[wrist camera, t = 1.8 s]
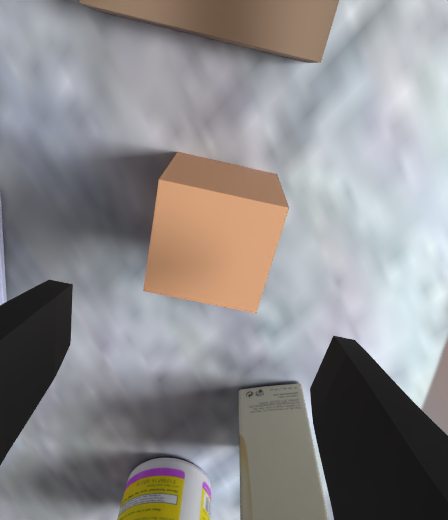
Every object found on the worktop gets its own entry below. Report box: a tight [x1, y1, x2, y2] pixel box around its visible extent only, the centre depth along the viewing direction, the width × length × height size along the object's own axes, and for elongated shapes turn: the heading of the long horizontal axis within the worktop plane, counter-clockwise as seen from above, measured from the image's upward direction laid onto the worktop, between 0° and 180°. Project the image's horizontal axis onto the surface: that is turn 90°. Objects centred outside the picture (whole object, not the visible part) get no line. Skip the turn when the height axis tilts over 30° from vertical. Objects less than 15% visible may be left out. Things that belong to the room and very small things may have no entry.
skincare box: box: [239, 384, 329, 520], centre depth 21 cm, size 6×4×12 cm
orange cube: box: [143, 152, 289, 313], centre depth 18 cm, size 5×5×5 cm
